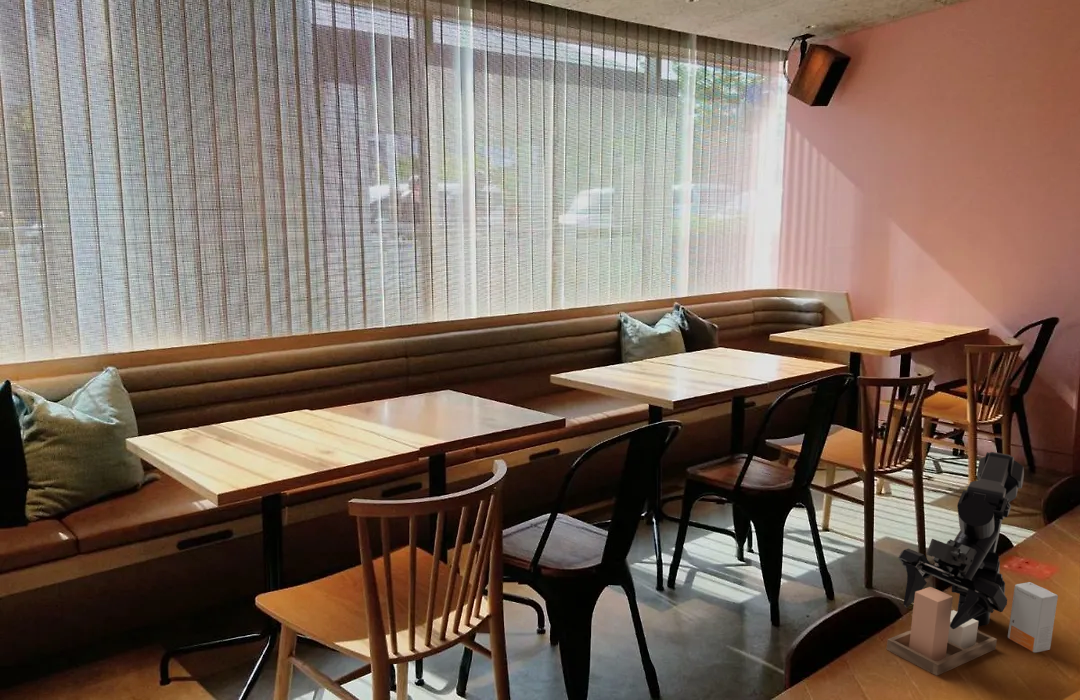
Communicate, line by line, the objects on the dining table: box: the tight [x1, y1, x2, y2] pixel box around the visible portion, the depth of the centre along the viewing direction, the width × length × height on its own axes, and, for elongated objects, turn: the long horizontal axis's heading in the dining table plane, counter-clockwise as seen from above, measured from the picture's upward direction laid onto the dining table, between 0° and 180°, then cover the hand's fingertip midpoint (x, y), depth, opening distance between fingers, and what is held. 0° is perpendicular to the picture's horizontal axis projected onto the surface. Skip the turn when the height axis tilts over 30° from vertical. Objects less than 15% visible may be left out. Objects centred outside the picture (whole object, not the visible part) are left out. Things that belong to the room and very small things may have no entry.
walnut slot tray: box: [886, 629, 998, 677], centre depth 155 cm, size 18×10×3 cm, turn 122°
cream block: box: [948, 609, 979, 649], centre depth 157 cm, size 5×5×5 cm
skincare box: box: [1007, 581, 1059, 653], centre depth 157 cm, size 6×4×12 cm
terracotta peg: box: [909, 586, 954, 662], centre depth 152 cm, size 4×4×12 cm
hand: (927, 616), depth 151 cm, fingers open, 9 cm apart
